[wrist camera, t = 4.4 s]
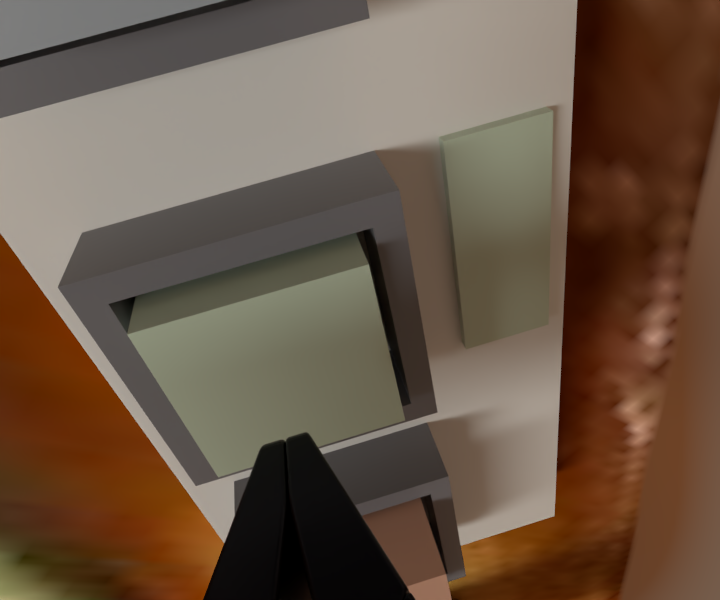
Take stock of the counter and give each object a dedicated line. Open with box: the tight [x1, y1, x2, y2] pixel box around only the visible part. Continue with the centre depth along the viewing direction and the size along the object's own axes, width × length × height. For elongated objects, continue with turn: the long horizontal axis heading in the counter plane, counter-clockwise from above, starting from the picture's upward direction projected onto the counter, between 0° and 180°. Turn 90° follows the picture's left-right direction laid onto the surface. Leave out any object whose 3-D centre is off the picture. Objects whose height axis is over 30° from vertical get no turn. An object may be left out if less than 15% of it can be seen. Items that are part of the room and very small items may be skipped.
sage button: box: [127, 233, 405, 477], centre depth 12 cm, size 4×4×2 cm
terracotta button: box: [362, 498, 452, 600], centre depth 16 cm, size 4×4×2 cm
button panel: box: [0, 0, 577, 582], centre depth 13 cm, size 28×12×4 cm, turn 12°
